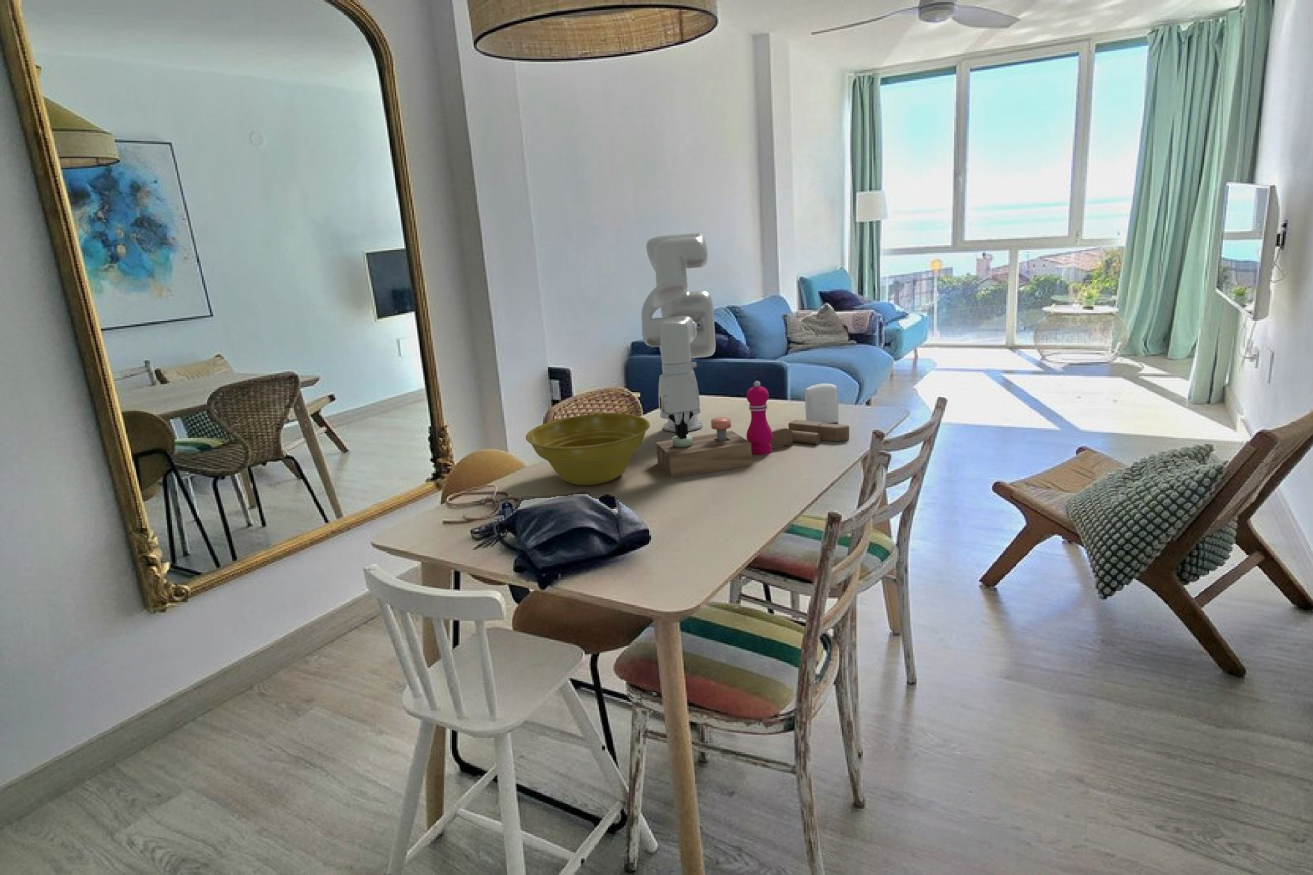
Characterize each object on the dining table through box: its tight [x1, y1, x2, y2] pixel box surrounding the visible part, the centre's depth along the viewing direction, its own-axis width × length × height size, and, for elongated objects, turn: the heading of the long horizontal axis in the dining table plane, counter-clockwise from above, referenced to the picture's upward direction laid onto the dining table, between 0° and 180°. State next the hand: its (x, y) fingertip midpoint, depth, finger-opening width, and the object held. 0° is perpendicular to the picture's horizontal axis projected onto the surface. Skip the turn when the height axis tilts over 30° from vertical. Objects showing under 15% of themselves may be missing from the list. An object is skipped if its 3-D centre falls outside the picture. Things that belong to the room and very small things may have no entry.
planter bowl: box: [525, 412, 651, 486], centre depth 197 cm, size 32×32×13 cm
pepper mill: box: [745, 380, 773, 456], centre depth 206 cm, size 7×7×20 cm
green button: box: [671, 434, 693, 448], centre depth 199 cm, size 5×5×8 cm
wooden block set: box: [769, 419, 850, 449], centre depth 212 cm, size 17×6×18 cm
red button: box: [710, 416, 732, 442], centre depth 201 cm, size 5×5×8 cm
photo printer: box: [804, 383, 839, 424], centre depth 230 cm, size 10×4×12 cm, turn 99°
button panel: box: [655, 430, 753, 479], centre depth 201 cm, size 14×22×6 cm, turn 105°
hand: (682, 437), depth 198 cm, fingers closed
